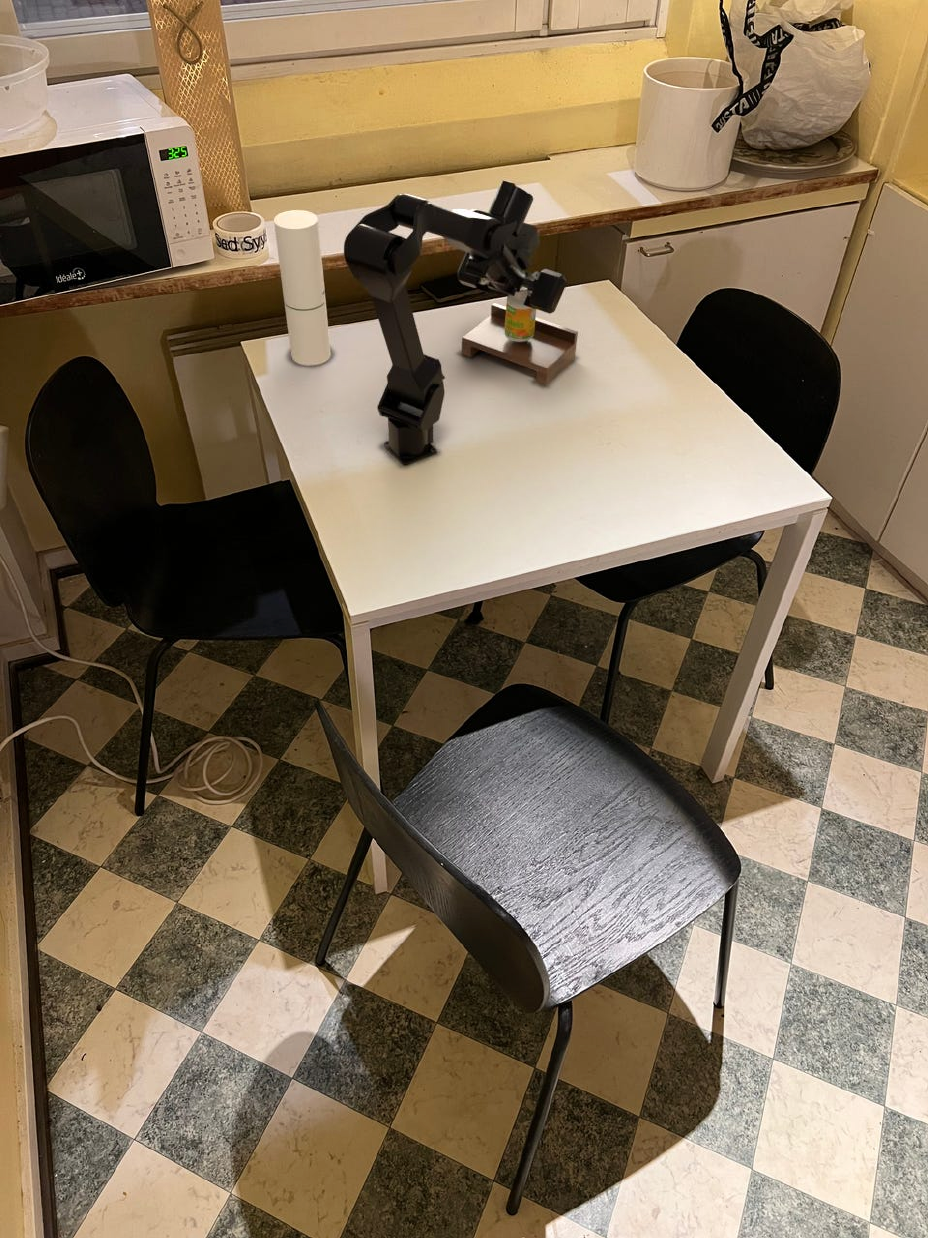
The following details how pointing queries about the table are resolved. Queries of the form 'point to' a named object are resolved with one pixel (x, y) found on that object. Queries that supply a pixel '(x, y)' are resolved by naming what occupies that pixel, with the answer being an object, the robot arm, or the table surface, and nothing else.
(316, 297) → the cylindrical container
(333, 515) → the table surface
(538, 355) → the shelf
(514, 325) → the supplement bottle
